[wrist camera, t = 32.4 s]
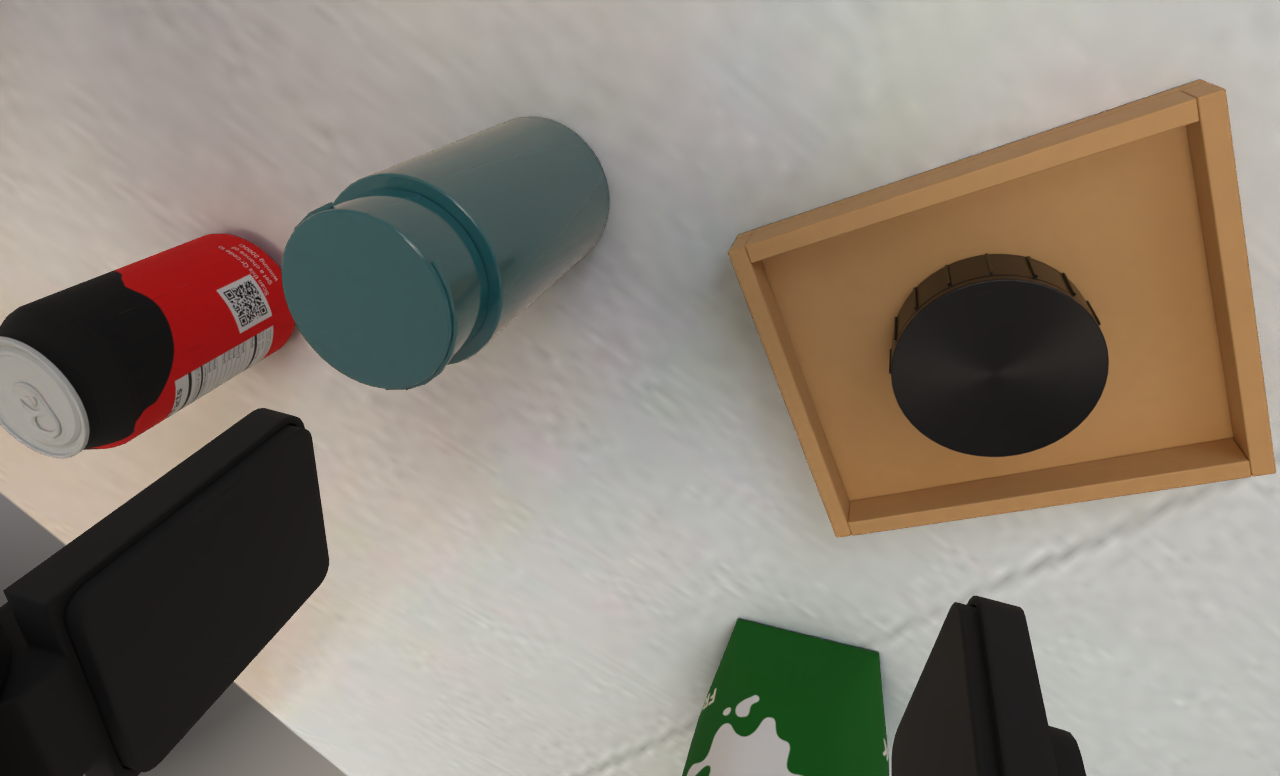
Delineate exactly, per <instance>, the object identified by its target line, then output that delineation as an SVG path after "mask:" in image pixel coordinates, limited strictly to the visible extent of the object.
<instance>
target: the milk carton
mask: <svg viewBox="0 0 1280 776" xmlns="http://www.w3.org/2000/svg"><path fill="white" fill-rule="evenodd" d="M682 776H889V759H888V748H887V737H886V726H885V716H884V705H883V694H882V683H881V673H880V661H879V653H877V652H873V651H869V650H865V649H861V648H857V647H853V646H849V645H845V644H840V643H836V642H832V641H828V640H824V639H820V638H816V637H812V636H808V635H804V634H799V633H795V632H791V631H787V630H783V629H779V628H775V627H771V626H767V625H762V624H758V623H754V622H750V621H746V620H742V619H738V620H737V622H736V625H735V627H734V630H733V632H732V635H731V637H730V640H729V642H728V645H727V647H726V650H725V652H724V655H723V657H722V660H721V662H720V665H719V667H718V670H717V672H716V675H715V677H714V680H713V682H712V685H711V687H710V690H709V692H708V695H707V697H706V700H705V703H704V705H703V708H702V710H701V713H700V716H699V719H698V722H697V726H696V729H695V733H694V736H693V739H692V742H691V746H690V749H689V753H688V757H687V760H686V764H685V767H684V771H683V775H682Z"/></svg>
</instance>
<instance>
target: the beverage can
mask: <svg viewBox="0 0 1280 776" xmlns="http://www.w3.org/2000/svg"><path fill="white" fill-rule="evenodd" d="M294 326H295V322H294V320H293V318H292V316H291V313H290V311H289V309H288V306H287V303H286V300H285V296H284V291H283V286H282V276H281V268H280V267H279V266H278V265H277V263H276V262H275V261H274V260H273V259H272V258H271V257H270V256H268V255H267V254H266V253H265V252H264V251H263V250H261V249H260V248H259V247H257V246H256V245H254V244H253V243H251V242H249V241H247V240H245V239H242V238H239V237H236V236H233V235H229V234H209V235H205V236H202V237H200V238H197V239H195V240H192V241H189V242H187V243H184V244H182V245H179V246H176V247H174V248H171V249H169V250H166V251H163V252H161V253H158V254H156V255H153V256H150V257H148V258H145V259H143V260H140V261H137V262H135V263H132V264H130V265H127V266H125V267H122V268H119V269H117V270H114V271H112V272H109V273H106V274H104V275H101V276H99V277H96V278H93V279H91V280H88V281H86V282H83V283H80V284H78V285H75V286H73V287H70V288H67V289H65V290H62V291H60V292H57V293H55V294H52V295H49V296H47V297H44V298H42V299H39V300H36V301H34V302H31V303H29V304H26V305H23V306H21V307H19V308H17V309H16V310H15V311H13V312H12V313H11V314H10V315H8V316H7V317H6V319H5V320H4V321H3V323H2V324H1V326H0V425H1V426H2V427H3V428H4V429H5V430H6V431H7V432H8V433H9V434H10V435H12V436H13V437H14V438H15V439H17V440H18V441H19V442H21V443H22V444H24V445H25V446H27V447H28V448H30V449H32V450H34V451H36V452H38V453H40V454H43V455H46V456H49V457H54V458H69V457H72V456H74V455H76V454H78V453H79V452H81V451H82V450H86V449H107V448H113V447H116V446H120V445H122V444H125V443H127V442H128V441H130V440H132V439H133V438H135V437H137V436H138V435H140V434H141V433H143V432H145V431H146V430H148V429H150V428H151V427H153V426H155V425H156V424H158V423H159V422H161V421H163V420H164V419H166V418H168V417H169V416H171V415H172V414H174V413H176V412H177V411H179V410H181V409H182V408H184V407H186V406H187V405H189V404H190V403H192V402H194V401H195V400H197V399H199V398H200V397H202V396H203V395H205V394H207V393H208V392H210V391H212V390H213V389H215V388H217V387H218V386H220V385H221V384H223V383H225V382H226V381H228V380H230V379H231V378H233V377H234V376H236V375H238V374H239V373H241V372H243V371H244V370H246V369H247V368H249V367H251V366H252V365H254V364H256V363H257V362H259V361H261V360H262V359H264V358H265V357H267V356H269V355H270V354H272V353H274V352H275V351H277V350H278V349H280V348H281V347H282V346H284V344H285V343H286V342H287V341H288V339H289V338H290V336H291V335H292V332H293V330H294Z"/></svg>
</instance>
